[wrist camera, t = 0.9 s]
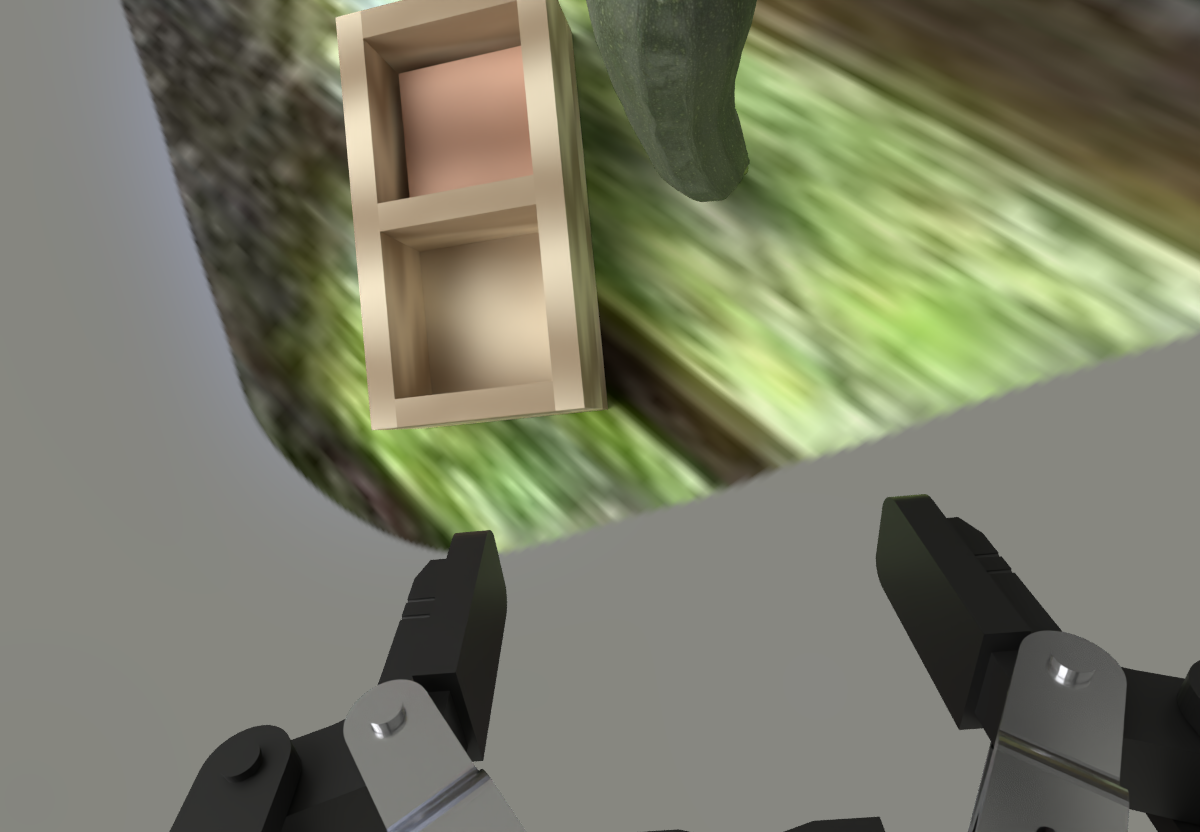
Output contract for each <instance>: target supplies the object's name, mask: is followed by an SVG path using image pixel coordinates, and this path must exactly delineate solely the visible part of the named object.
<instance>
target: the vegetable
mask: <svg viewBox="0 0 1200 832" xmlns="http://www.w3.org/2000/svg"><path fill="white" fill-rule="evenodd" d="M756 1H757V0H586V2H587V6H588V11H589V15H590V19H591V23H592V28H593V31H594V35H595V39H596V43H597V45H598V48H599V50H600V53H601V55H602V58H603V61H604V63H605V66H606V69H607V71H608V74H609V77H610V79H611V82H612V85H613V88H614V90H615V92H616V94H617V95H618V97H619V99H620V101H621V103H622V105H623V107H624V110H625V113H626V115H627V117H628V119H629V122H630V124H631V126H632V128H633V129H634V131H635V133H636V135H637V137H638V138H639V140H640V142H641V144H642V145H643V147H644V149H645V151H646V152H647V154H648V156H649V158H650V160H651V162H652V164H653V166H654V168H655V169H656V171H657V172H658V173H659V175H660V176H661V177H662V178H663V179H664V180H665V181H666V182H667V183H669V184H670V185H671V186H673V187H674V188H675V189H677V190H678V191H680V192H681V193H683V194H684V195H686V196H688V197H689V198H691V199H693V200H696V201H699V202H707V201H719V200H723V199H726V198H727V197H728V195H729V194H730V193H731V192H732V191H733V190H734V188H735V187H736V186H737V185H738V184H739V183H740V182H741V180H742V178H743V175H745V174H747V172H748V165H749V158H748V153H747V150H746V145H745V141H744V137H743V133H742V129H741V125H740V121H739V117H738V114H737V111H736V109H735V97H734V91H735V78H736V74H737V71H738V67H739V63H740V59H741V54H742V50H743V47H744V44H745V41H746V39H747V36H748V33H749V30H750V27H751V23H752V19H753V15H754V11H755V6H756Z"/></svg>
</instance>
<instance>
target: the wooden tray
mask: <svg viewBox="0 0 1200 832" xmlns="http://www.w3.org/2000/svg"><path fill="white" fill-rule="evenodd" d="M336 26H337V37H338V49H339V60H340V72H341V83H342V95H343V106H344V118H345V129H346V141H347V152H348V164H349V175H350V187H351V198H352V210H353V221H354V233H355V244H356V256H357V267H358V278H359V290H360V301H361V313H362V324H363V336H364V347H365V359H366V370H367V382H368V393H369V405H370V416H371V428H372V430H389V429H422V428H433V427H443V426H452V425H462V424H472V423H481V422H491V421H501V420H511V419H520V418H530V417H540V416H549V415H559V414H569V413H578V412H588V411H598V410H608V403H607V393H606V383H605V372H604V362H603V352H602V341H601V331H600V320H599V310H598V300H597V289H596V279H595V268H594V258H593V248H592V237H591V227H590V216H589V206H588V196H587V185H586V175H585V164H584V154H583V144H582V133H581V123H580V113H579V102H578V92H577V81H576V71H575V61H574V50H573V40H572V32H571V29H570V27H569V25H568V22H567V20H566V18H565V16H564V13H563V11H562V9H561V6H560V4H559V2H558V0H402V1H398V2H394V3H390V4H386V5H382V6H378V7H374V8H371V9H367V10H363V11H359V12H355V13H351V14H347V15H343V16H339V17H336Z"/></svg>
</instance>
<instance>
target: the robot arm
mask: <svg viewBox="0 0 1200 832" xmlns="http://www.w3.org/2000/svg"><path fill="white" fill-rule="evenodd" d="M876 567H877V573H878V577H879V580H880V583H881V585H882V588H883V590H884V591H885V593H886V595H887V597H888V599H889V601H890V602H891V604H892V606H893V608H894V610H895V612H896V614H897V616H898V617H899V619H900V621H901V623H902V625H903V627H904V629H905V630H906V632H907V634H908V636H909V638H910V640H911V641H912V643H913V645H914V647H915V649H916V651H917V653H918V654H919V656H920V658H921V660H922V662H923V664H924V666H925V668H926V669H927V671H928V673H929V675H930V677H931V679H932V680H933V682H934V684H935V686H936V688H937V690H938V692H939V693H940V695H941V697H942V699H943V701H944V703H945V705H946V706H947V708H948V710H949V712H950V714H951V716H952V718H953V719H954V721H955V723H956V725H957V727H958V729H959V730H964V729H978V728H984V730H985V732H986V733H987V735H988V737H989V739H990V740H991V743H990V747H989V750H988V753H987V758H986V762H985V765H984V769H983V774H982V778H981V782H980V785H979V789H978V793H977V798H976V801H975V806H974V809H973V813H972V817H971V821H970V825H969V829H968V832H1128V818H1129V809H1132V810H1136V811H1140V812H1144V813H1146V814H1147V816H1148V817H1149V819H1150V821H1151V822H1152V824H1153V825H1154V827H1155V828H1156V830H1157V831H1158V832H1200V661H1198V662H1196V663H1195V664H1193V665H1192V667H1191V668H1190V670H1189V672H1188V674H1187V676H1186V678H1185V679H1183V678H1177V677H1172V676H1166V675H1160V674H1154V673H1148V672H1143V671H1137V670H1132V669H1127V668H1123V667H1121V666H1120V665H1119V664H1118V663H1117V661H1116V660H1115V659H1114V658H1113V657H1112V656H1110V654H1109V653H1107V652H1106V651H1105V650H1103V649H1102V648H1100V647H1099V646H1097V645H1096V644H1094V643H1092V642H1090V641H1088V640H1086V639H1084V638H1081V637H1079V636H1076V635H1073V634H1070V633H1066V632H1062V631H1061V629H1060V628H1059V627H1058V626H1057V624H1056V623H1055V622H1054V621H1053V620H1052V619H1051V617H1050V616H1049V615H1048V613H1047V612H1046V611H1045V610H1044V608H1042V606H1041V605H1040V604H1039V602H1038V601H1037V600H1036V599H1035V597H1034V596H1033V595H1032V594H1031V592H1030V591H1029V590H1028V589H1027V588H1026V586H1025V585H1024V584H1023V582H1022V581H1021V580H1020V579H1019V577H1018V576H1017V575H1016V574H1015V573H1012V571H1011V568H1010V567H1009V565H1008V564H1007V563H1006V561H1005V560H1004V559H1003V558H1002V557H999V555H998V552H997V550H996V549H995V548H994V547H993V546H992V544H991V543H990V542H989V541H988V539H987V538H986V537H985V535H984V534H983V533H982V532H980V531H979V530H977V529H975V528H974V527H972V526H971V525H969V524H968V523H966V522H965V521H963V520H962V519H960V518H959V517H954V518H946V517H945V516H944V514H943V513H942V512H941V510H940V509H939V508H938V506H937V505H936V504H935V502H934V501H933V500H932V499H931V497H929V496H928V495H926V494H921V495H911V496H910V495H909V496H897V497H888V498H886V499H885V501H884V503H883V507H882V515H881V522H880V530H879V538H878V544H877V552H876ZM506 613H507V594H506V586H505V581H504V577H503V573H502V568H501V565H500V560H499V555H498V551H497V547H496V543H495V538H494V535H493V533H492V531H491V530H486V531H474V532H463V533H455V534H454V536H453V538H452V542H451V545H450V548H449V552H448V555H447V558H446V559H438V560H430V561H429V563H428V564H427V565H426V566H425V567H424V568H423V570H422V571H421V572H420V573H419V574H418V575H417V577H416V578H415V579H414V582H413V585H412V588H411V591H410V594H409V596H408V603H406V605H405V608H404V611H403V614H402V620H401V621H400V622H399V626H398V628H397V631H396V634H395V637H394V640H393V643H392V646H391V649H390V651H389V654H388V657H387V660H386V663H385V666H384V669H383V672H382V675H381V677H380V680H379V683H378V685H377V686H375V687H374V688H372V689H370V690H369V691H367V692H366V693H365V694H364V695H362V696H361V697H360V698H359V699H358V700H357V701H356V702H355V703H354V705H353V706H352V707H351V709H350V710H349V712H348V714H347V717H346V719H344V720H342V721H340V722H339V723H336V724H334V725H332V726H329V727H326V728H324V729H321V730H318V731H315V732H312V733H310V734H307V735H304V736H301V737H299V738H296V739H293V740H290V738H289V736H288V734H287V733H286V732H285V731H284V730H283V729H281V728H279V727H276V726H271V725H262V726H257V727H252V728H249V729H246V730H244V731H242V732H239V733H237V734H236V735H234V736H232V737H231V738H229V739H228V740H226V741H225V742H224V743H223V744H221V745H220V746H219V747H218V748H217V749H216V750H215V751H214V752H213V753H212V754H211V755H210V756H209V758H208V759H207V760H206V761H205V763H204V764H203V766H202V768H201V769H200V771H199V773H198V775H197V777H196V779H195V781H194V783H193V785H192V787H191V789H190V791H189V794H188V795H187V797H186V799H185V802H184V803H183V806H182V807H181V810H180V812H179V814H178V816H177V818H176V820H175V822H174V824H173V826H172V828H171V830H170V832H526V831H525V829H524V828H523V826H522V824H521V823H520V821H519V820H518V818H517V817H516V815H515V814H514V812H513V811H512V809H511V808H510V806H509V805H508V803H507V802H506V801H505V799H504V797H503V796H502V794H501V793H500V791H499V790H498V788H497V787H496V785H495V784H494V782H493V781H492V779H491V778H490V777H489V775H488V774H487V773H486V772H485V771H484V770H483V769H481V770H480V771H478V770H477V768H476V767H475V766H474V764H473V763H472V762H474V761H483V759H484V752H485V746H486V739H487V733H488V727H489V721H490V715H491V708H492V702H493V696H494V689H495V683H496V677H497V671H498V664H499V657H500V652H501V645H502V639H503V633H504V627H505V620H506ZM648 832H688V831H683V830H666V831H665V830H664V831H648ZM785 832H885V831H884V828H883V825H882V822H881V819H880V817H869V818H868V817H867V818H852V819H836V820H821V821H812V822H809V823H807V824H804V825H801V826H798V827H796V828H793V829H790V830H787V831H785Z"/></svg>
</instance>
